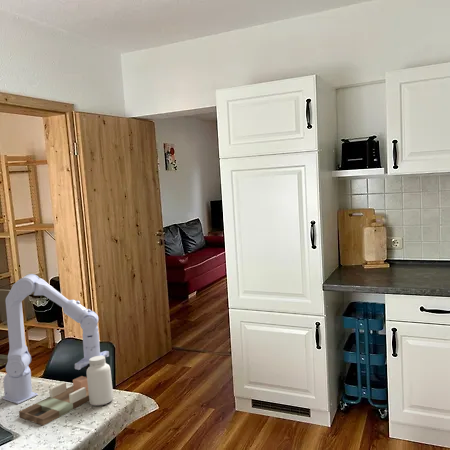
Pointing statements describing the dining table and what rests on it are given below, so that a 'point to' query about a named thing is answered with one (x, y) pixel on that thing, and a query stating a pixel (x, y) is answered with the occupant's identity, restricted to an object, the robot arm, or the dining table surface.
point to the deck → (52, 408)
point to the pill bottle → (99, 381)
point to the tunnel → (73, 396)
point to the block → (80, 383)
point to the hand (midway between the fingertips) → (93, 381)
